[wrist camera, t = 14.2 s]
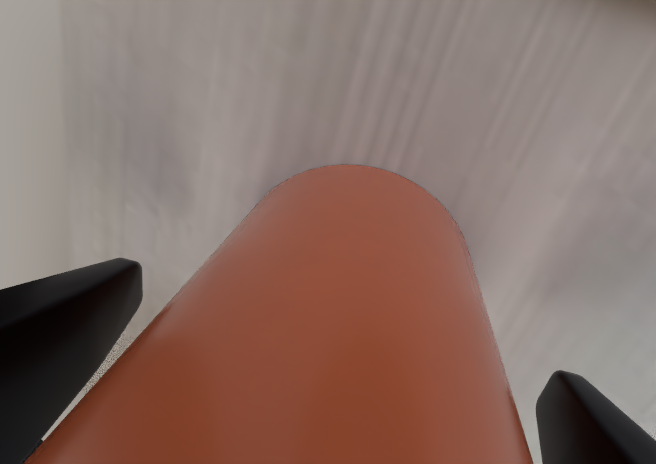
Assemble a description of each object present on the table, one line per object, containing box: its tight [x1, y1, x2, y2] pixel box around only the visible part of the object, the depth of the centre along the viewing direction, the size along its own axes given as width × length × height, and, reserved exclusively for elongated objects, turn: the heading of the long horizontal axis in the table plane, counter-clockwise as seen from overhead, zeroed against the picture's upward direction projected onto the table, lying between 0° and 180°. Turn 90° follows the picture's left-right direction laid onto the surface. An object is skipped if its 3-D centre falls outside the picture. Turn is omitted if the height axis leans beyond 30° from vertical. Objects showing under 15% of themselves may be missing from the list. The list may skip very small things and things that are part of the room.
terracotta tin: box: [24, 165, 533, 464], centre depth 6 cm, size 6×6×8 cm
